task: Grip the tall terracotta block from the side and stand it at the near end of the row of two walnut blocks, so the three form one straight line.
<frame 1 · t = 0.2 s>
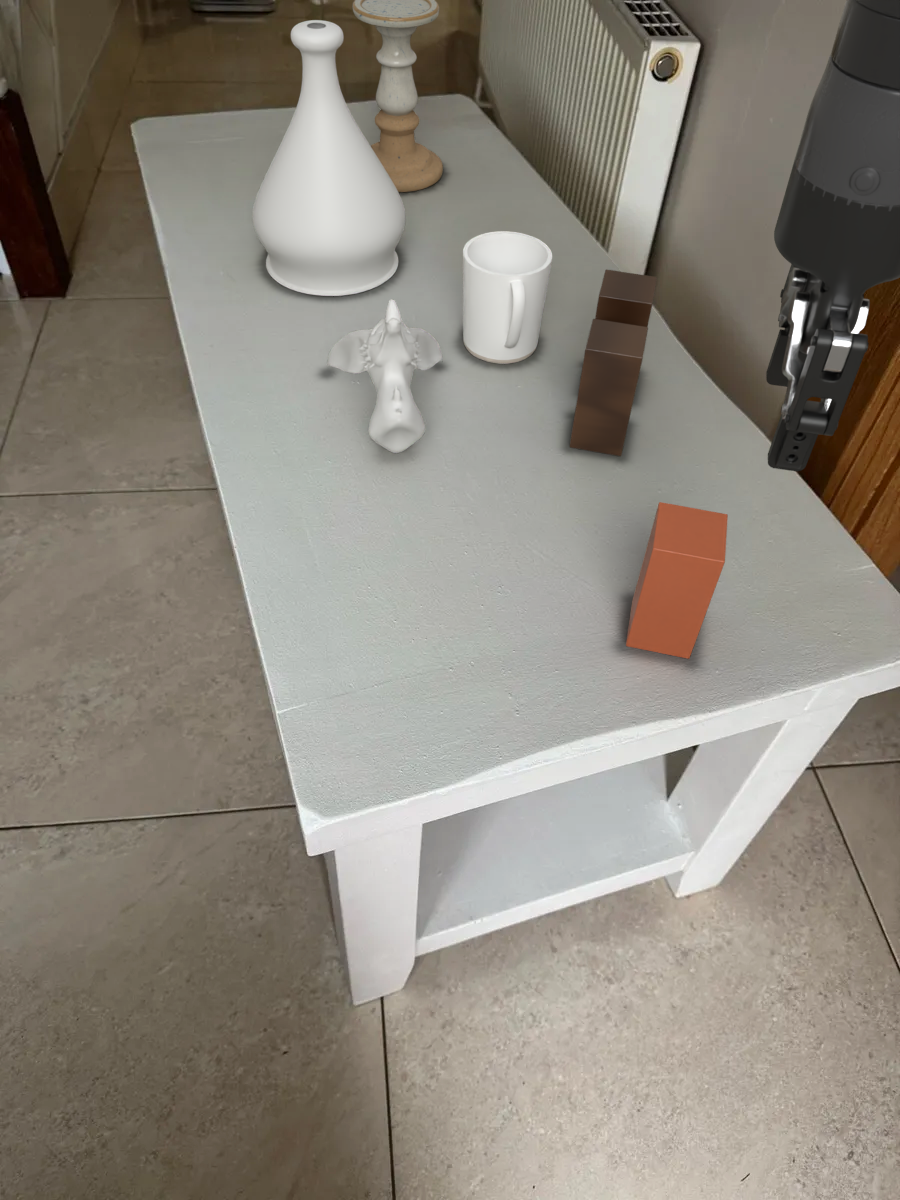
hand: (782, 422, 59), 21 cm above the table, tool pointing down, fingers open, 8 cm apart
candle holder: (397, 174, 127), on the table
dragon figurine: (391, 421, 91), on the table
walnut block far: (609, 382, 96), on the table
vase: (332, 263, 111), on the table
mug: (501, 349, 100), on the table
walnut block mid: (598, 436, 90), on the table
terracotta block: (660, 629, 74), on the table
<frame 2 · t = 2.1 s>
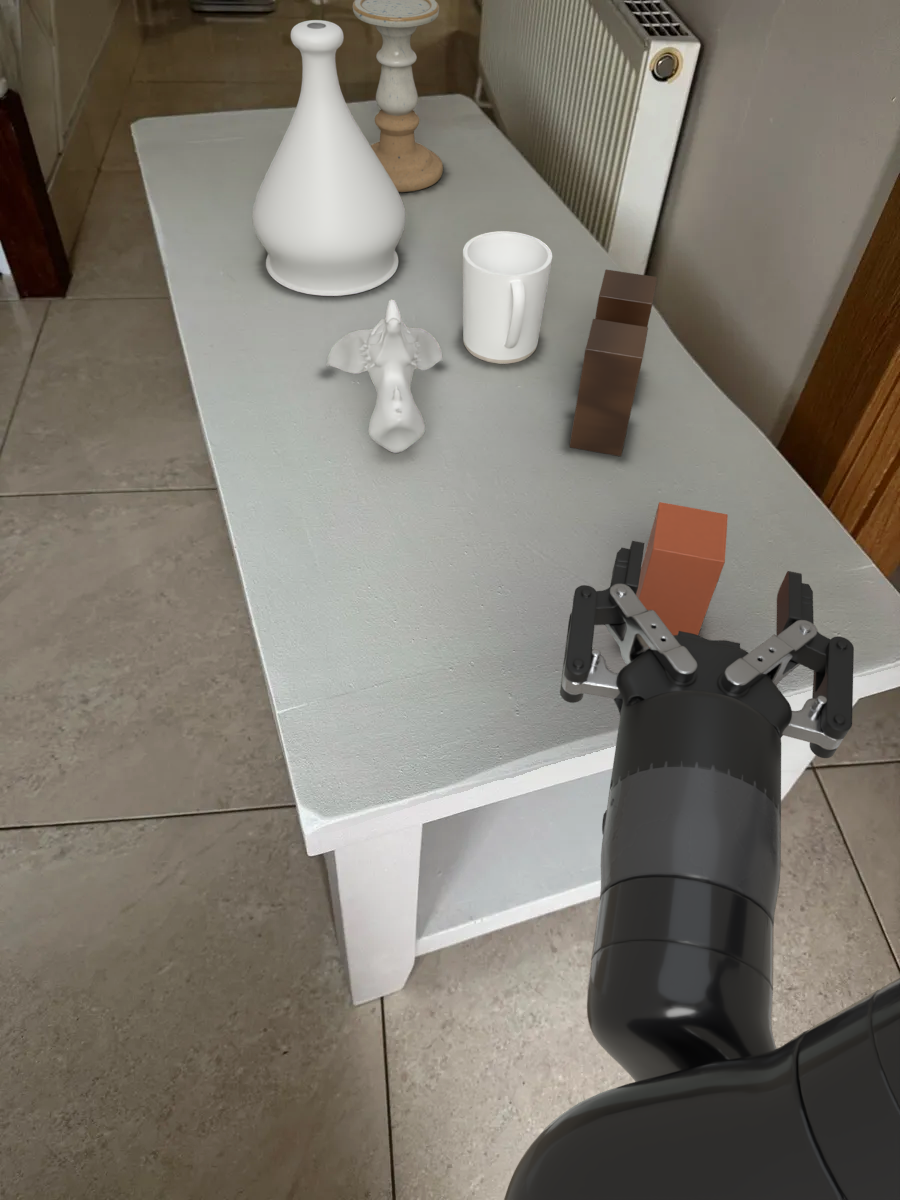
hand: (711, 566, 52), 20 cm above the table, tool horizontal, fingers open, 8 cm apart
nothing on the table moved.
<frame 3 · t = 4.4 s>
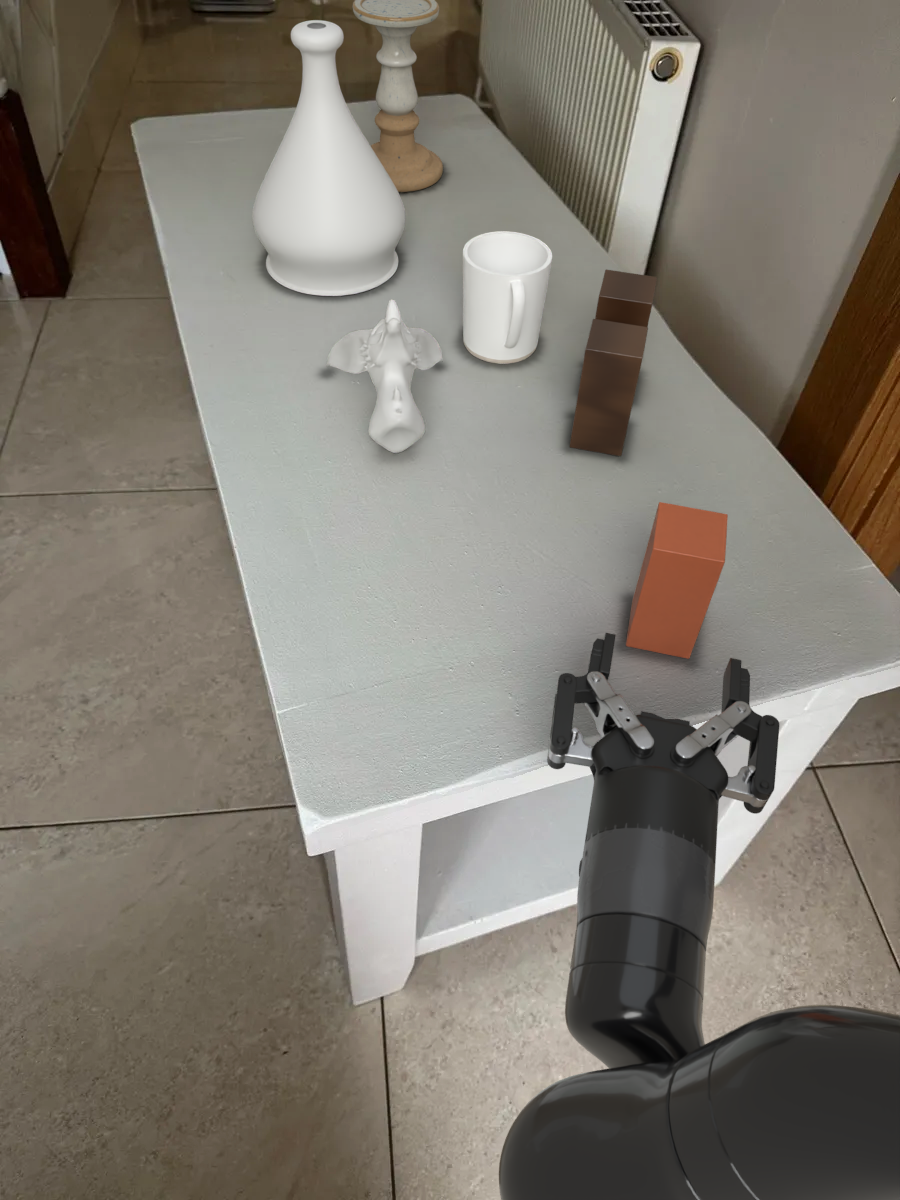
hand: (669, 653, 64), 7 cm above the table, tool horizontal, fingers open, 8 cm apart
nothing on the table moved.
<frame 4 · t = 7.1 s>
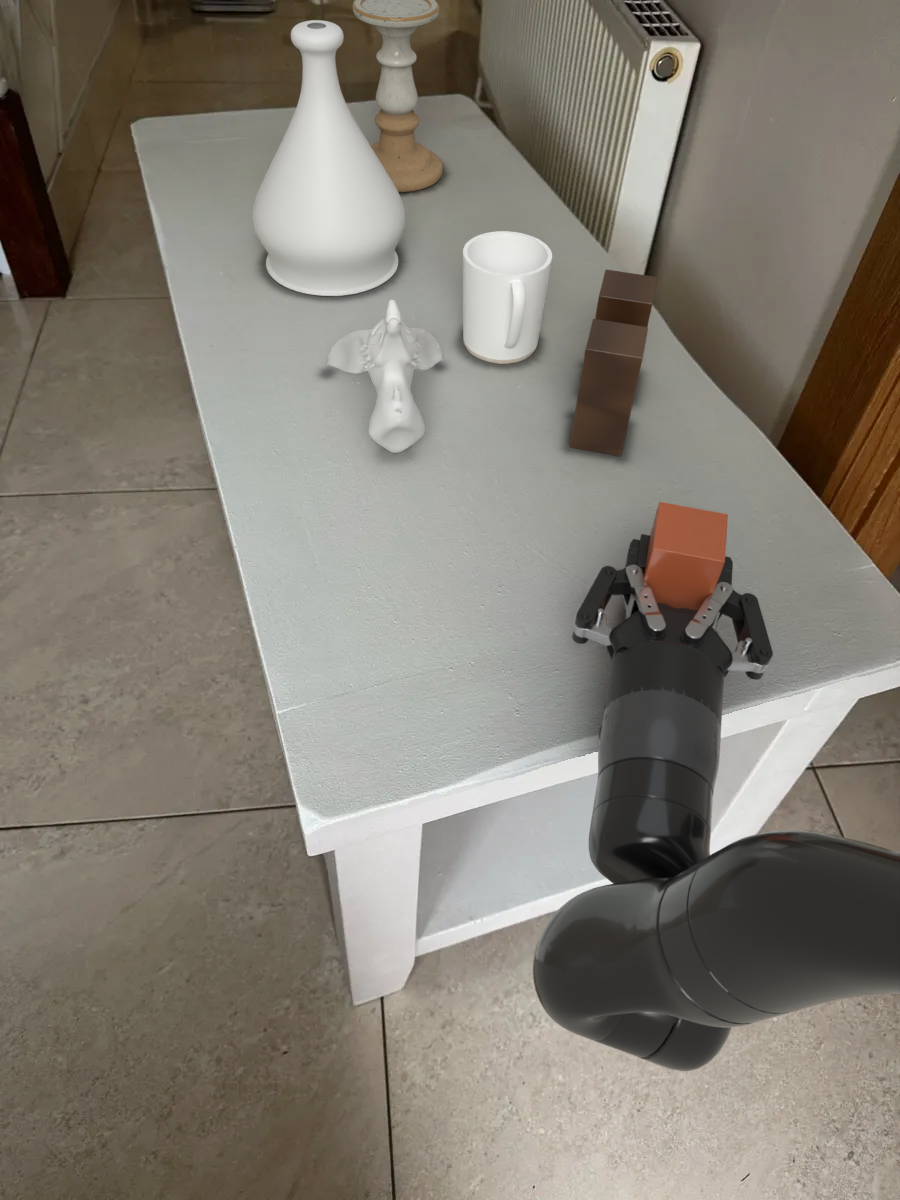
hand: (679, 549, 71), 7 cm above the table, tool horizontal, fingers closed on terracotta block, 5 cm apart
terracotta block: (659, 629, 74), on the table, touching gripper
everything else where it was.
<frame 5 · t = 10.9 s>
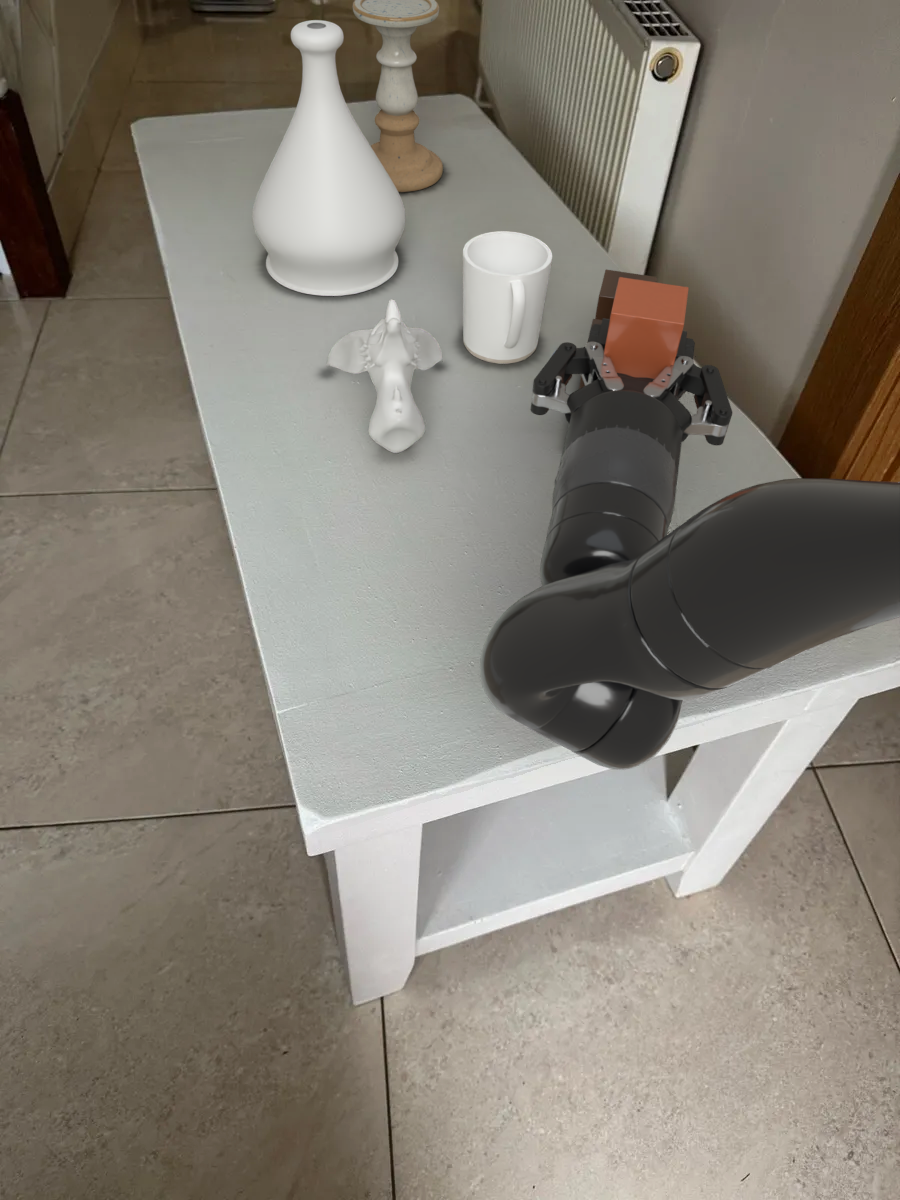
hand: (641, 335, 70), 18 cm above the table, tool horizontal, fingers closed on terracotta block, 5 cm apart
terracotta block: (623, 425, 73), point 11 cm above the table, touching gripper
everything else where it was.
when the fingers open (7 cm above the table, at t = 14.9 s): terracotta block stays where it is, on the table.
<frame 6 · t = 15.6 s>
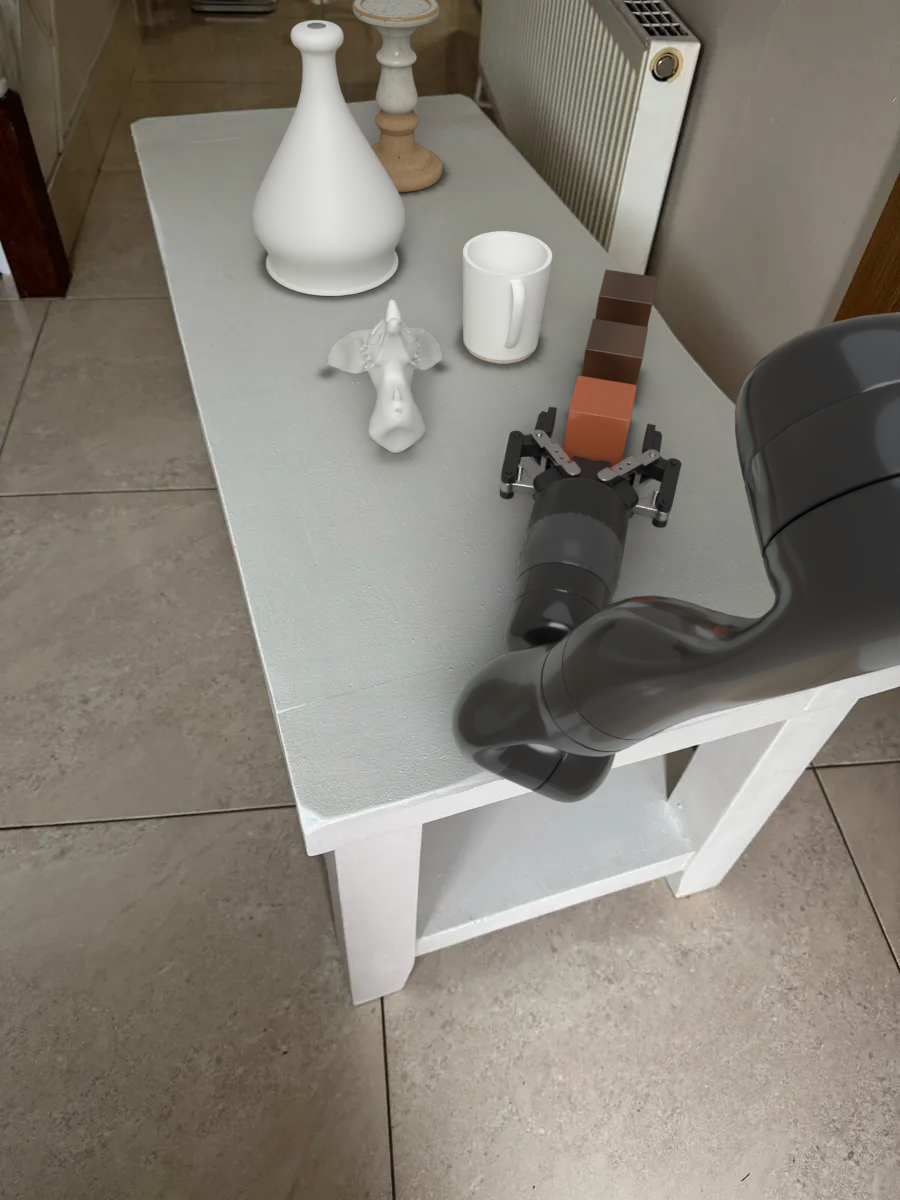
hand: (600, 423, 81), 7 cm above the table, tool horizontal, fingers open, 8 cm apart
terracotta block: (584, 496, 85), on the table
everything else where it was.
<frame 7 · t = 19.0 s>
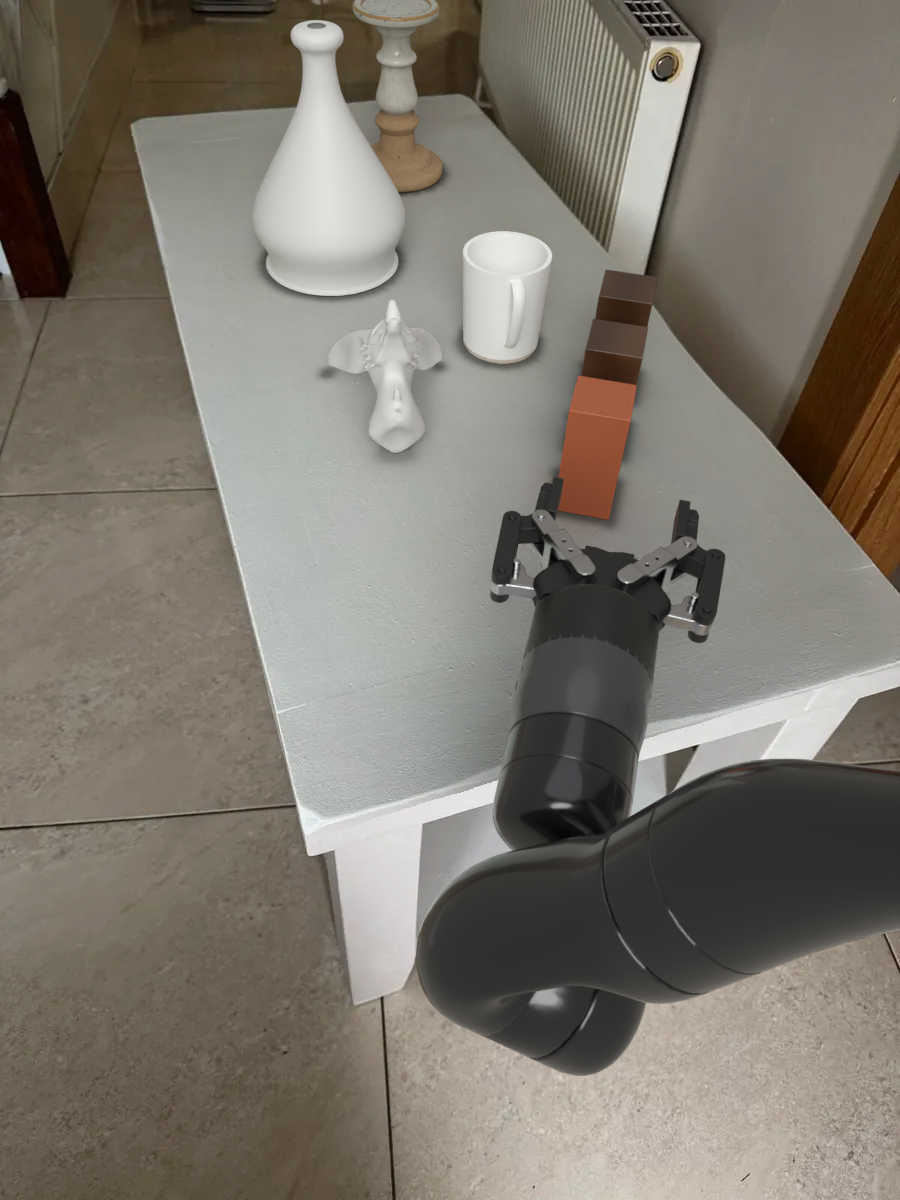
hand: (619, 497, 63), 14 cm above the table, tool horizontal, fingers open, 8 cm apart
nothing on the table moved.
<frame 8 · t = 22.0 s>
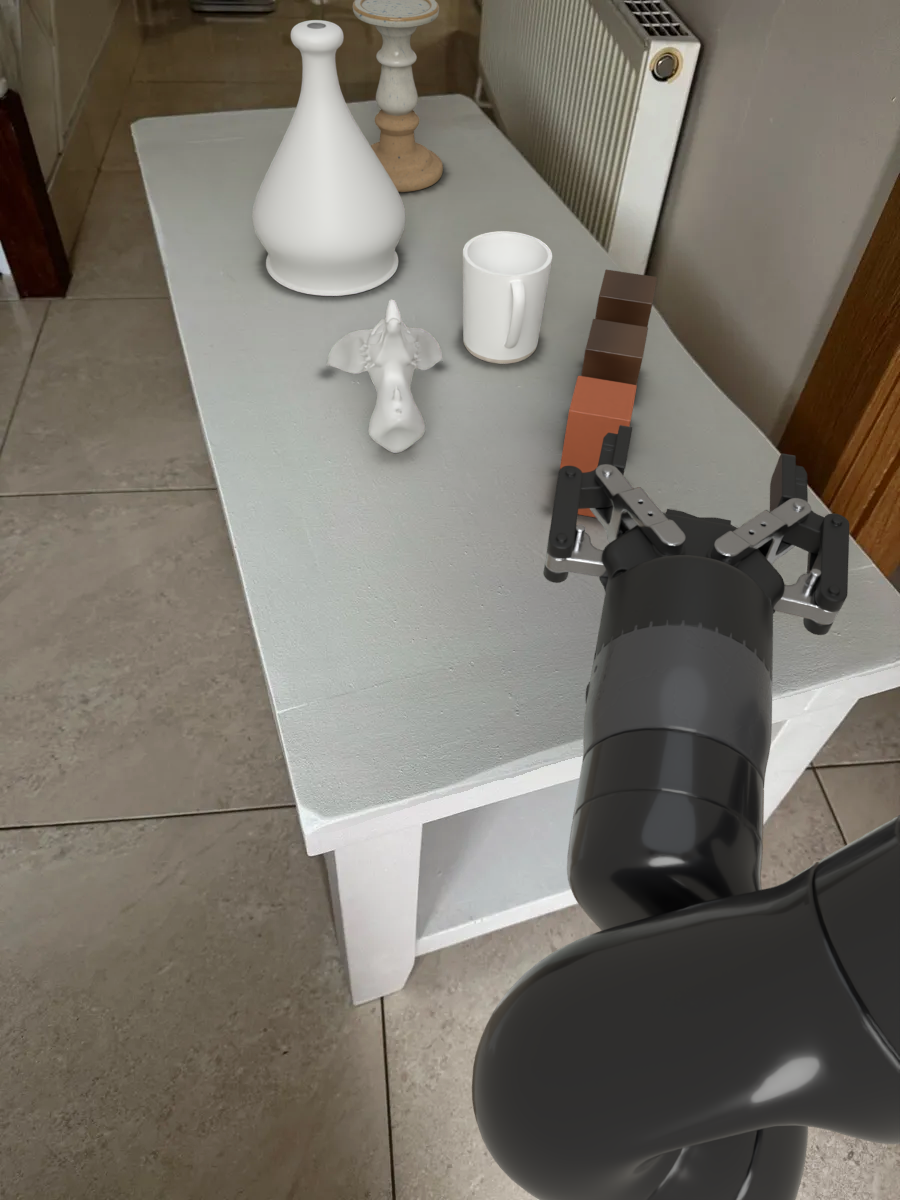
hand: (701, 452, 50), 25 cm above the table, tool horizontal, fingers open, 8 cm apart
nothing on the table moved.
at the end: terracotta block 0.1 cm from the target spot on the table beside the walnut block far, on the table; terracotta block tilted 0°; walnut block mid moved 0.0 cm from its start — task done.
